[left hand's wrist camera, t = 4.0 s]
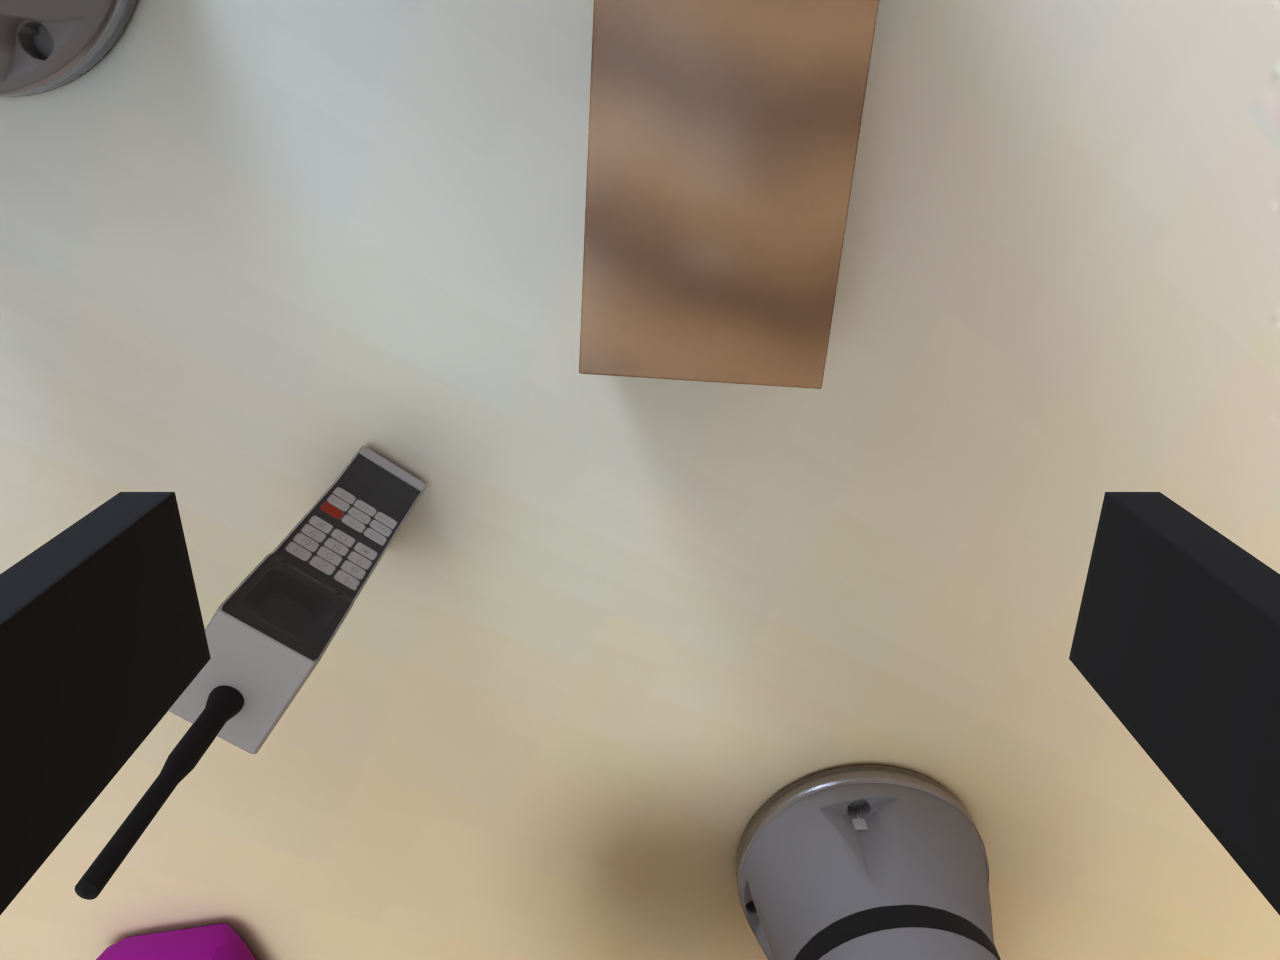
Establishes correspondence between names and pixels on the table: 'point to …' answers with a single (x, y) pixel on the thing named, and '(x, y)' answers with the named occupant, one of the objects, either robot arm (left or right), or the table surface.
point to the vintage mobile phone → (275, 631)
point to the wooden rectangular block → (719, 185)
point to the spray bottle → (182, 945)
